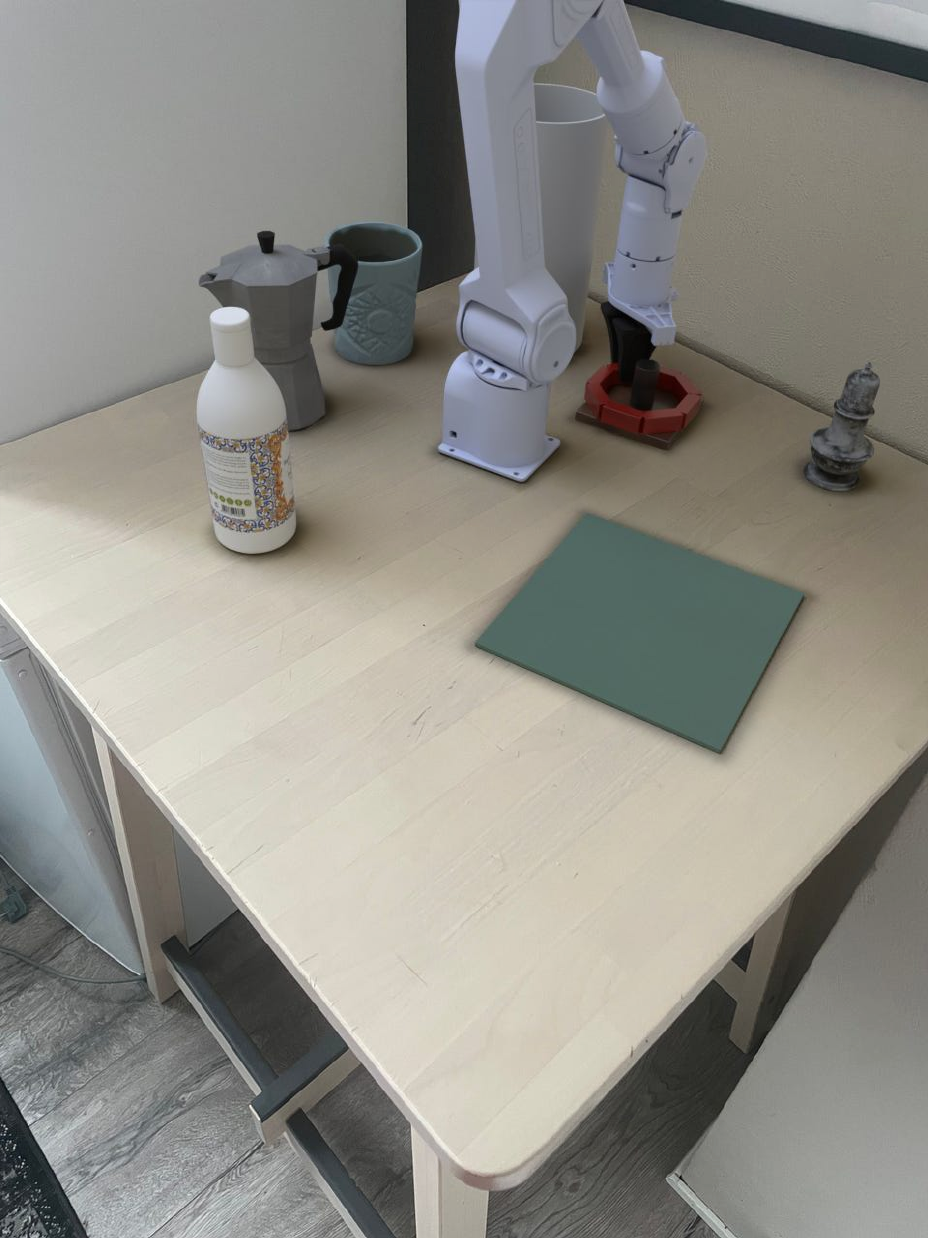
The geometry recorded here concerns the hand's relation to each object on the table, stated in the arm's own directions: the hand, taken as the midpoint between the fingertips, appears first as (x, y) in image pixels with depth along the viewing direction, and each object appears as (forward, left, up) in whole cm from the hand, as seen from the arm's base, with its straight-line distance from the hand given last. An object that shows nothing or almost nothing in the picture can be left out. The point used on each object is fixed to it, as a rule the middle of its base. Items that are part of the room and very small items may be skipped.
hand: (625, 375), depth 108 cm
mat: (+16, -33, -2) cm, 36 cm away
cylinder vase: (-14, +3, -2) cm, 14 cm away
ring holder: (+3, -4, -2) cm, 5 cm away
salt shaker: (+23, -4, -2) cm, 24 cm away
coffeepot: (-27, -23, -2) cm, 35 cm away
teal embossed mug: (-27, -8, -2) cm, 28 cm away
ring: (+3, -3, -1) cm, 5 cm away
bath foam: (-17, -41, -2) cm, 44 cm away
